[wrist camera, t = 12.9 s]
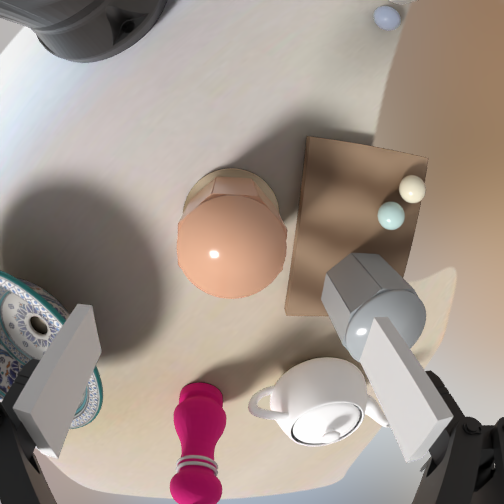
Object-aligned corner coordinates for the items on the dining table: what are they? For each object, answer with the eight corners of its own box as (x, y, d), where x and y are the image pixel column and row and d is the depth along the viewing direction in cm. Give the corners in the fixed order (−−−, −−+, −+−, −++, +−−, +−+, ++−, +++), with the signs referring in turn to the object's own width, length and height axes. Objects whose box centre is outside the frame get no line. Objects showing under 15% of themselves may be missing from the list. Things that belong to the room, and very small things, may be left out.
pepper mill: (170, 402, 44) (155, 519, 25) (186, 373, 42) (171, 502, 23) (215, 416, 45) (214, 530, 27) (234, 388, 43) (239, 514, 25)
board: (306, 136, 31) (310, 136, 30) (421, 156, 32) (428, 158, 31) (284, 308, 39) (286, 315, 37) (386, 308, 40) (391, 315, 38)
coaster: (185, 165, 32) (184, 166, 31) (283, 172, 32) (284, 172, 32) (183, 257, 35) (182, 259, 35) (273, 262, 36) (274, 264, 36)
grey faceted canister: (330, 251, 34) (359, 291, 26) (396, 255, 35) (436, 291, 27) (317, 317, 37) (337, 367, 29) (379, 317, 38) (409, 361, 30)
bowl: (133, 269, 35) (107, 314, 27) (116, 404, 44) (102, 450, 35) (-24, 216, 31) (-69, 240, 22) (-10, 352, 39) (-35, 386, 31)
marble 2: (383, 204, 30) (406, 222, 29) (391, 191, 32) (412, 208, 31) (368, 222, 32) (390, 240, 32) (377, 209, 34) (397, 226, 33)
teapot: (234, 404, 45) (236, 462, 35) (260, 335, 40) (269, 397, 30) (359, 414, 48) (378, 462, 38) (399, 354, 43) (429, 403, 33)
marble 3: (409, 175, 29) (433, 189, 28) (405, 166, 31) (427, 179, 31) (395, 199, 30) (419, 212, 30) (392, 189, 33) (414, 201, 33)
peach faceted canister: (191, 175, 31) (177, 193, 23) (276, 180, 32) (292, 200, 24) (189, 254, 34) (177, 295, 26) (268, 258, 35) (279, 300, 27)
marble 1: (366, 15, 26) (371, 4, 23) (388, 10, 26) (395, -1, 23) (378, 36, 27) (385, 26, 24) (401, 31, 26) (408, 22, 23)
